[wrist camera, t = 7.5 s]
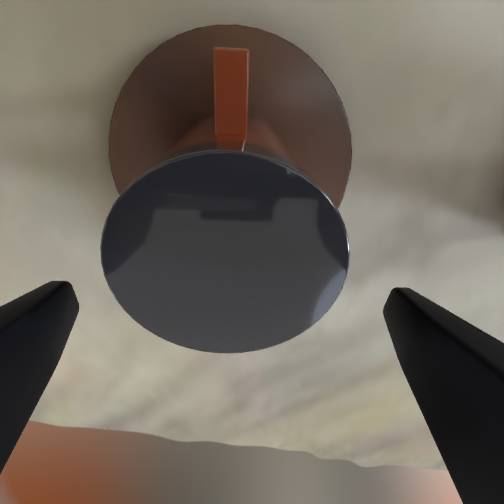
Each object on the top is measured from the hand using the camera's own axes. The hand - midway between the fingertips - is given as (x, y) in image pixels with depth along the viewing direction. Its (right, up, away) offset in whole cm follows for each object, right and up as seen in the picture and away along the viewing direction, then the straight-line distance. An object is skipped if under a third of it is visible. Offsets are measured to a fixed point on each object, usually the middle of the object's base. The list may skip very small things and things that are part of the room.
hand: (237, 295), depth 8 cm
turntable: (-1, +6, +9) cm, 11 cm away
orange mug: (-1, +6, +7) cm, 10 cm away
